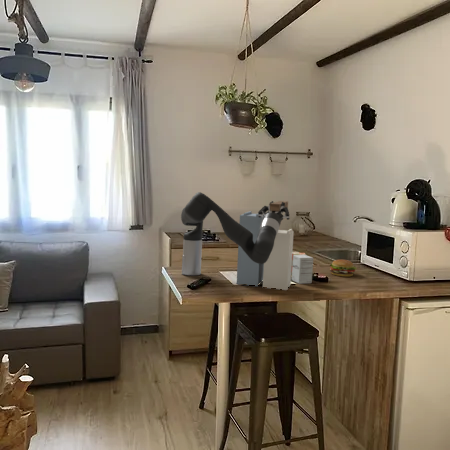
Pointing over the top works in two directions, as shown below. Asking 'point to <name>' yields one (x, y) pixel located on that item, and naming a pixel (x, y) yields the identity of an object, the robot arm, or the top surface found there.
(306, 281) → the supplement box
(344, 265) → the food
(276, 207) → the walnut slat
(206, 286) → the top surface
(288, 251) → the end-cap post
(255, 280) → the slate stand
